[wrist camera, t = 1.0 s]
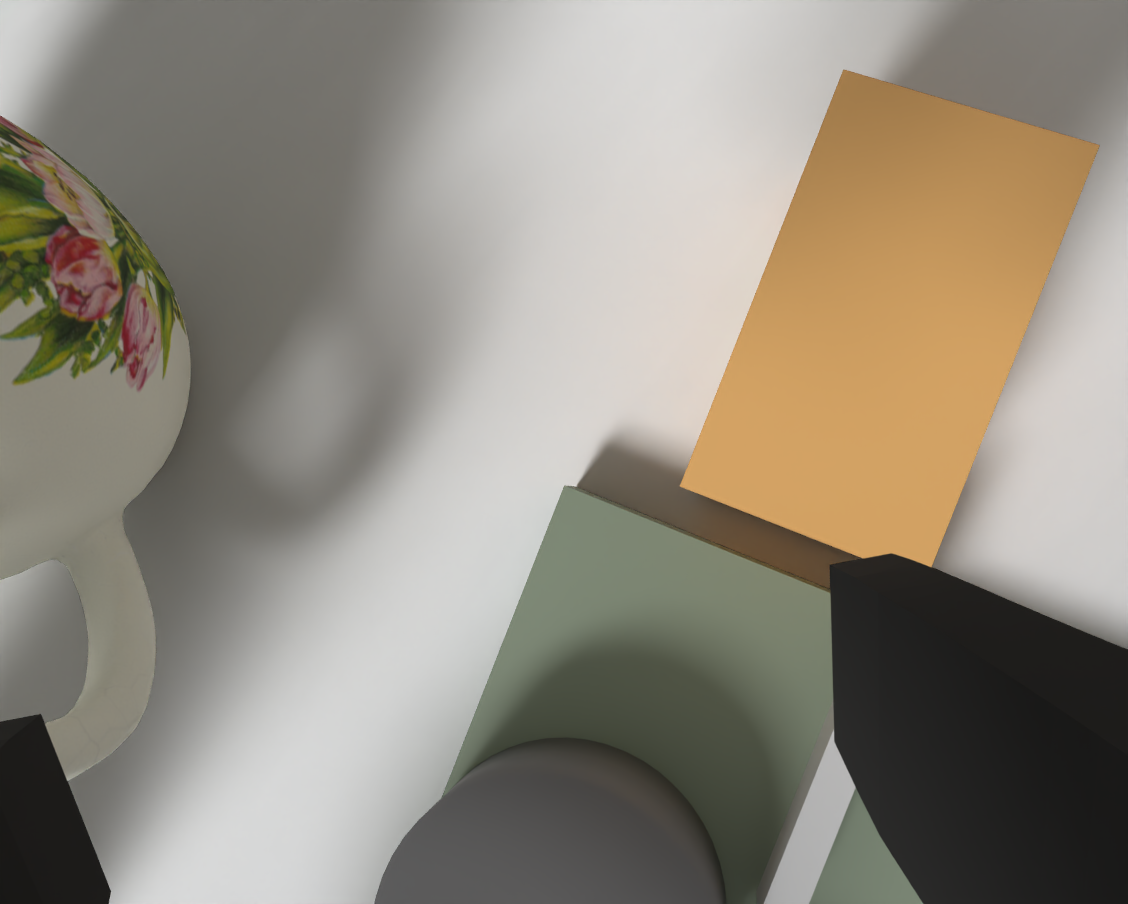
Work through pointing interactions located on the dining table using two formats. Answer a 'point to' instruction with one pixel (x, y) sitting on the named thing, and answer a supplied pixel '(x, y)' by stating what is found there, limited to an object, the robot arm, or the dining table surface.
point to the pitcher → (83, 418)
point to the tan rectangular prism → (888, 319)
